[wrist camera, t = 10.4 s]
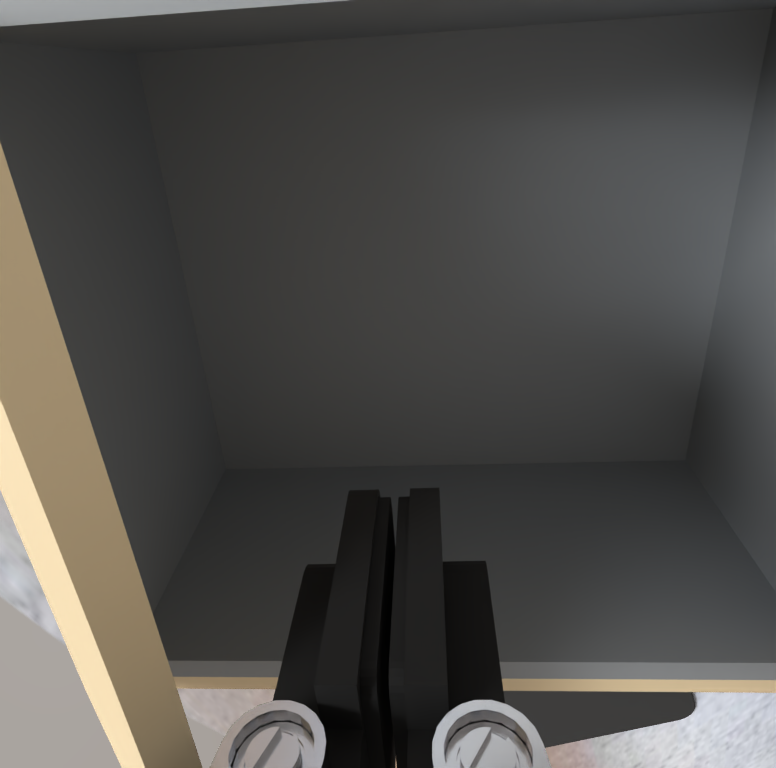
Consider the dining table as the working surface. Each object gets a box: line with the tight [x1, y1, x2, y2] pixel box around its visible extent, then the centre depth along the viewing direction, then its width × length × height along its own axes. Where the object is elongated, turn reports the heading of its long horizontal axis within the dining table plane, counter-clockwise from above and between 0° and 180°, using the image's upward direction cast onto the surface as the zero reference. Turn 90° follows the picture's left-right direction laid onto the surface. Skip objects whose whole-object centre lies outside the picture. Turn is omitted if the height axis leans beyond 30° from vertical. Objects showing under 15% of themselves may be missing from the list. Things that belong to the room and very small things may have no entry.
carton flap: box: [0, 143, 202, 768], centre depth 12 cm, size 20×12×1 cm
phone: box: [503, 691, 695, 748], centre depth 38 cm, size 7×1×15 cm
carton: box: [0, 0, 776, 693], centre depth 21 cm, size 21×24×12 cm
